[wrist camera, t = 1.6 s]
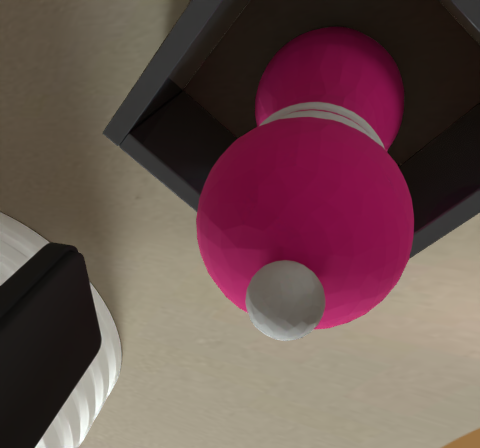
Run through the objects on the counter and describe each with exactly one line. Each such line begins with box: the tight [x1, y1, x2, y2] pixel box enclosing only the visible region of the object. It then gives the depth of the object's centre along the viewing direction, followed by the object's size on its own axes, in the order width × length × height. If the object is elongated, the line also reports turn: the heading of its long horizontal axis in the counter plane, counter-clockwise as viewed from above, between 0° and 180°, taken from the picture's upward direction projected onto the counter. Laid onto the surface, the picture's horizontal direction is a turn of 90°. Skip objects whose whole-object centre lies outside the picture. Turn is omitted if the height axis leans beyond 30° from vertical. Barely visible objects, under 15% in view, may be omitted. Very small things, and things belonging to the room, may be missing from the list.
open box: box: [103, 0, 480, 259], centre depth 23 cm, size 15×15×8 cm
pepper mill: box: [196, 26, 414, 341], centre depth 18 cm, size 7×7×20 cm
